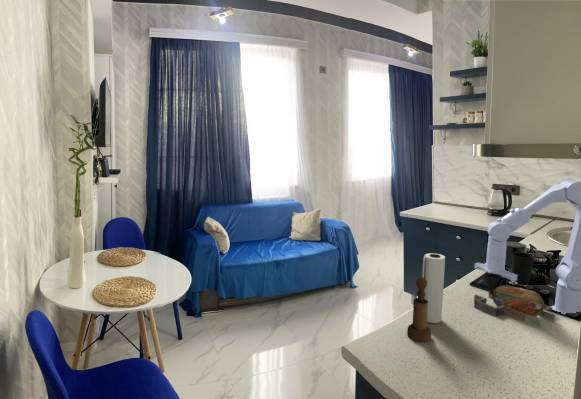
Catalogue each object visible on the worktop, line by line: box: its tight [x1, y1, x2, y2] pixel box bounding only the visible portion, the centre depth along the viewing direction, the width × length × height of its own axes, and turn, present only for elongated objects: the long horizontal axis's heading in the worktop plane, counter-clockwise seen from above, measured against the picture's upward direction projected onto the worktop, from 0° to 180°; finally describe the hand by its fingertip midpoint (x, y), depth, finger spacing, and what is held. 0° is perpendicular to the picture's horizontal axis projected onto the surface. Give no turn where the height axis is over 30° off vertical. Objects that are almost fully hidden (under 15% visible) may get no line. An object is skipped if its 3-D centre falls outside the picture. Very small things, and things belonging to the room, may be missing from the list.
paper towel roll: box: [422, 253, 446, 324], centre depth 121 cm, size 7×6×21 cm
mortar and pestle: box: [407, 276, 432, 343], centre depth 111 cm, size 7×6×18 cm
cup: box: [511, 252, 535, 285], centre depth 150 cm, size 8×8×12 cm
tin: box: [491, 284, 546, 318], centre depth 126 cm, size 15×3×8 cm, turn 44°
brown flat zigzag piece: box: [473, 291, 556, 329], centre depth 128 cm, size 17×22×2 cm
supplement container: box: [505, 241, 528, 268], centre depth 166 cm, size 10×10×12 cm
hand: (493, 293), depth 134 cm, fingers closed
